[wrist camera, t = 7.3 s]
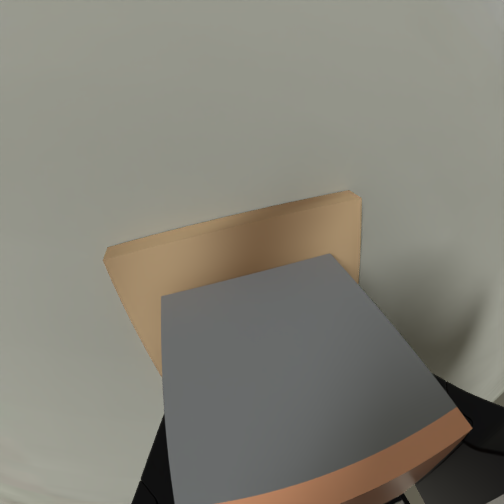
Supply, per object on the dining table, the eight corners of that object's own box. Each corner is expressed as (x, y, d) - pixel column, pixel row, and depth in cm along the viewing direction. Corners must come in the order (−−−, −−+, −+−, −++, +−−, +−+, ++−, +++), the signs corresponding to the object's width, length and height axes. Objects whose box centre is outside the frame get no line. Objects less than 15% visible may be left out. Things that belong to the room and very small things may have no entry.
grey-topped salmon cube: (330, 252, 9) (472, 428, 4) (327, 359, 12) (401, 494, 6) (160, 296, 9) (181, 539, 3) (204, 395, 11) (240, 549, 6)
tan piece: (349, 190, 10) (480, 285, 5) (342, 349, 14) (400, 445, 9) (107, 247, 9) (63, 409, 4) (180, 395, 13) (198, 510, 8)
